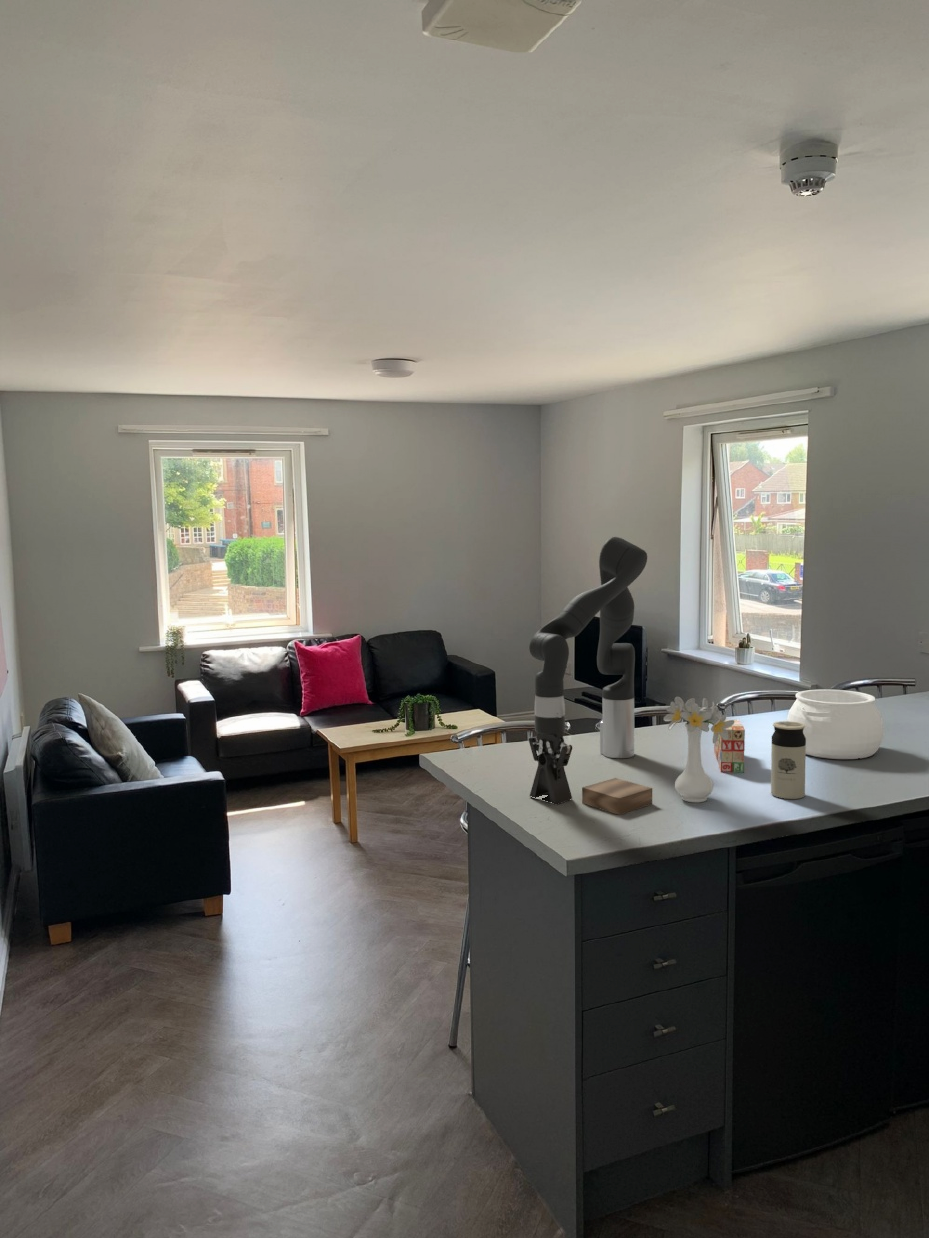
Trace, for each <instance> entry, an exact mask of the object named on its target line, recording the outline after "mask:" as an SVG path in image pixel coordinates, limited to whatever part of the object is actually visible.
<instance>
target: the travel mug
mask: <svg viewBox="0 0 929 1238" xmlns="http://www.w3.org/2000/svg"><path fill="white" fill-rule="evenodd" d="M772 726H773V729H774V732H773V734H772V735H771V753H770V754H771V756H770V757H771V760H770V761H771V763H770V765H771V766H770V768H771V770H770V794H771V795H772V796H774V797H776V798H778V797H779V798H778V799H782V798H784V799H783V800H799V799H802V798H804V797H805V796H806V757H807V756H806V755H807V754H806V738H805V736H804V734H803V729H804V727H805V725H804V724H802V723H799V722H792V721H787V720H783V721H782V720H781V721H775V722H773V723H772Z"/></svg>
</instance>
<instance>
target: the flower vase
mask: <svg viewBox="0 0 929 1238" xmlns="http://www.w3.org/2000/svg"><path fill="white" fill-rule="evenodd" d="M701 705H702V706H701V707H700V706H699V704H698V703H696V699H695V698H694V697H692V698H689V699H687V701H686V702H684V700H683V699H682V698H681V697H680V696H675V697H674V701H671V702H670V704H669V707H667V708H666V712H668V713H667V714H666V715H665V716H663V721H664V722H669V724H668V726H667V727H668V729H667V730H668V731H670V730H672V729H673V727H674V726H675V725H676V724H677V723H680V722H681V720H683V721H686V723H684V726H685V728H686V734H687V760H686V764H685V767H684V769H683V771H682V773H680V774H679V776H677V778H676V779H675V782H674V789H675V790H676V792H677V793H678V794H679V795H680V797H681V800H683V801H685V802H688V803H696V804H697V803H703V802H707V800H708V797H709V796H710V795H711V794H712V792H713V791H714V788H715V787H714V783H713V781H712V779H711V777H710V776H709V775H708V774H707V773H706V771H705V770H704V767H703V764H702V754H701V750H702V749H701V738H702V732H704V733H708V732H709V731H711V733H713V736H712V744H715V743H716V742H717V740H718V738H719V735H720V736H721V737H722V739H724V740H727V739H728V737H729V735H728V732H727V731H726V730H725V729H726V728H729V727H731V726H732V725H733V724H734V720H729V721H725V720H726V719H727V715H726V714H725V713H724V714H722V715H721V713H720V712H719V710H720V709H719V707H718V706H716V704H715V702H714V700H713V701H712V706H711V707H709V701H708V700H707V698H704V697H703V698H702V704H701ZM723 721H725V722H723ZM710 725H712V726H711V728H710V727H709V726H710ZM718 734H719V735H718Z"/></svg>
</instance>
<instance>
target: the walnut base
mask: <svg viewBox="0 0 929 1238" xmlns="http://www.w3.org/2000/svg"><path fill="white" fill-rule="evenodd" d="M581 789H582V791H581V796H582V799H581V801H582V804H583V803H584V804H583V805H586V804H587V805H586V806H589V805H590V807H593V808H596V809H599V808H601V809H600V810H602V809H603V811H605V810H606V811H605V812H609V813H611V814H612V813H613V814H615V815H618V816H620V815H623V814H626V813H629V812H632V811H636V810H639V809H641V808H645V807H647V806H651V805H653V787H649V786H646V785H643V784H638V783H636V782H635V783H634V782H631V781H628V780H624V779H620V778H618V777H617V778H616V777H614V778H611V779H607V780H603V781H600V782H597V783H593V784H590V785H586V786H583V787H582V788H581Z"/></svg>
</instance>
